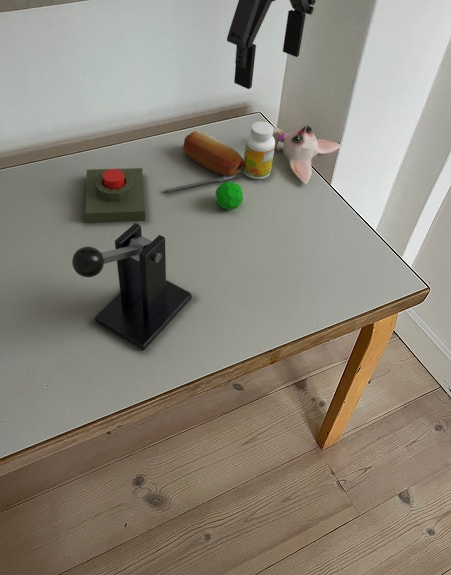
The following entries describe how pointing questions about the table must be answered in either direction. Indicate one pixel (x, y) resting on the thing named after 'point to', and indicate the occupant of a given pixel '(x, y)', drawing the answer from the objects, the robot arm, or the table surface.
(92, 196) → the control box
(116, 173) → the button
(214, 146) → the hot dog
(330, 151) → the toy dog
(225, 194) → the polyhedron
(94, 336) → the table surface
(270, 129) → the supplement bottle
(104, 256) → the lever
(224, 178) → the pen
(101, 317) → the switch bracket
